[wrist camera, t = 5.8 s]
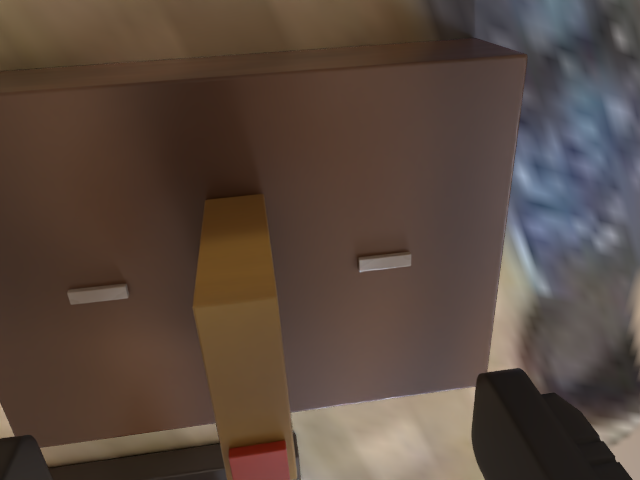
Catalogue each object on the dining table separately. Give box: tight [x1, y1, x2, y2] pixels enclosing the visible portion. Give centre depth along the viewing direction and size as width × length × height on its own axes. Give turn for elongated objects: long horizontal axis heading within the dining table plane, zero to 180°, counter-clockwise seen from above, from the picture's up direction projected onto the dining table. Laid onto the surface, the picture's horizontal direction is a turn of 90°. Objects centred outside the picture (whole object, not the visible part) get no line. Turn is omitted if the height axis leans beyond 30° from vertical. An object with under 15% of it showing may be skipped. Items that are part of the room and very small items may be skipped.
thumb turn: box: [192, 194, 297, 480], centre depth 12 cm, size 4×1×5 cm, turn 3°
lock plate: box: [0, 38, 528, 448], centre depth 15 cm, size 14×10×3 cm
